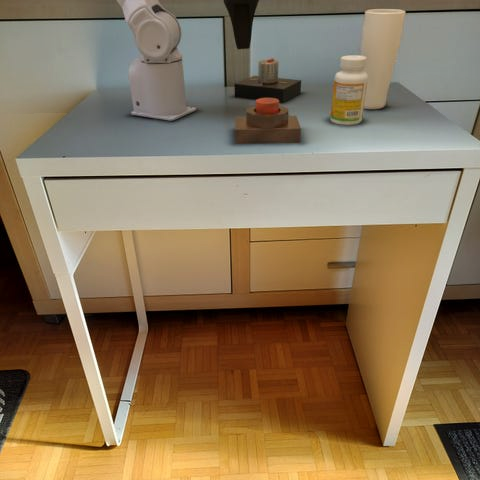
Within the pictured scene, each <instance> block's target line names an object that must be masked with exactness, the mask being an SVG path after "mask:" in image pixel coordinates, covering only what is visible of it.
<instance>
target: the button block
mask: <svg viewBox="0 0 480 480" xmlns="http://www.w3.org/2000/svg"><path fill="white" fill-rule="evenodd" d="M234 123H235V125H234V127H235V129H234V131H235V132H234V134H235V144H236V145H245V144H246V145H247V144H248V145H249V144H250V145H251V144H295V143H296V144H299V143H301V134H302V128H301V125H300V121H299V119H298V116H297V115H289V108H288V107H286V106H283V105H280V104H279V112H278V113H272V114H262V113H257V112H256V105H251V106H249V107H248V108H246V109H245V116H235V121H234Z"/></svg>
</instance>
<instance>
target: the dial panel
mask: <svg viewBox="0 0 480 480" xmlns="http://www.w3.org/2000/svg"><path fill="white" fill-rule="evenodd" d="M301 91H302V79H293V78H282V77H278V82H277V83H273V84H263V83H259V82H258V75H252V76H250V77H248V78H245V79H243V80H240V81H237V82H236V83H234V97H235V98H240V99H247V100H248V99H249V100H255V101H256V100H257V99H260V98H275V99H278V100H279V104H280V103H281V104H284V103H286V102H287V101H290V100H291V99H293V98H295V97H296V96H299V95H300V94H301Z"/></svg>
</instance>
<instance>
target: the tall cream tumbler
mask: <svg viewBox="0 0 480 480" xmlns="http://www.w3.org/2000/svg"><path fill="white" fill-rule="evenodd" d="M406 13H407V12H406V10H403V9H395V8H394V9H393V8H374V9H367V10H365V12H364V15H363V23H362V29H361V36H360V37H361V38H360V48H359V49H360V50H359V56H364V57H366V65H365V68H363V71H364V72H365V73H366V74H367V75H368V81H367V88H366V95H365V102H364V109H365V110H380V109H383V108H384V107H385V106H386V104H387V99H388V93H389V89H390V86H391V81H392V77H393V74H394V68H395V66H396V61H397V58H398V53H399V50H400V45H401V42H402V37H403V32H404V26H405V20H406V19H405V18H406ZM364 109H363V110H364Z"/></svg>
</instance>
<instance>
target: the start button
mask: <svg viewBox="0 0 480 480" xmlns="http://www.w3.org/2000/svg"><path fill="white" fill-rule="evenodd" d="M279 105H280V103H279V100H278V99H275V98H260V99H257V100H255V106H256V112H257V113H262V114H272V113H278V112H279Z"/></svg>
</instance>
